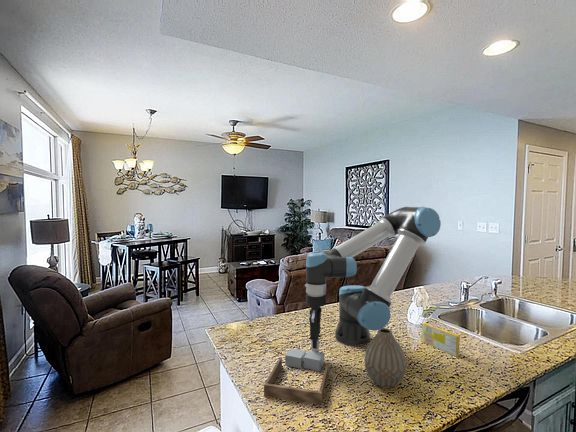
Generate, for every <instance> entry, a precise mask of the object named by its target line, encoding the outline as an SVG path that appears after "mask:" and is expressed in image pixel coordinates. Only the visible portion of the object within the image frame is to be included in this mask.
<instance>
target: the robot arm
mask: <svg viewBox="0 0 576 432" xmlns="http://www.w3.org/2000/svg"><path fill="white" fill-rule="evenodd" d="M441 225H442V224H441V220H440V216H439V213H438V212H437V211H436V210H435V209H434V208H431V207H426V206H420V207H419V206H404V207H400V208H398V209H396V210H393V211H391V212H390V213H388V214H386V215H384V216H382V217H381V218H379V220H378V222H377V223H375V224H373V225H372V226H369V227H368V228H366V229H365V230H363V231H361V232H359V233H358V234H356V235H354V236H352V237H351V238H349V239H347V240H345V241H344V242H342V243H341V244H339V245H337V246H335V247H333V248H331V249H329V250H328V251H326V250H325V251H323V250H322V251H320V252H309V253H308V254H307V255H306V258H305V260H306V262H305V273H306V274H305V279H306V281H305V284H304V287H305V293H306V294H305V305H307V306H309V307H311V308H310V309H309V317H308V319H309V333H310V334H309V335H310V336H309V340H310V342H311V346H310V347H311V349H310V350H311V351H316V352H320V338H322V335H321V319H322V307H324V306H325V305H326V302H327V300H326V299H327V295H326V294H327V279H329V278H331V279H332V278H350V277H354V276H355V275H356V273H357V269H358V265H357V262H356V259H355V258H354V257H356V256H358V255H359V254H361V253H363V252H364V251H366V250H369V248H371V247H373V246H375V245H377V244H378V243H380V242H381V241H383V240H385V239H387V238H388V237H389V238H393V237H395V236H396V235H398V237H397V239H396V240H395V242H394V244H393V245H392V247H391V249H390V251H389V252H388V254H387V256H386V258H385V259H384V260H383V263H382V264H381V267H380V268H379V270H378V272H377V273H376V275H375V277H374V278H373V280H372V282H371V284H370V285H368V286H363V285H355V284H354V285H343V286H341V287H340V288H339V293H338V296H339V298H338V300H339V301H338V303H339V306H338V307H339V309H338V310H339V311H338V312H339V313H338V315H339V316H338V318H339V319H338V322H337V325H336V329H335V332H334V333H335V335H334V336H335V339H336V341H338V342H339V343H342V344H343V345H347V346H363V345H368V344H369V343H370V341H371V333H370V331H378V329H380V328H386V326H387V325H388V324H389V323H390V319H391V316H392V315H391V310H390V306H391V305H392V299H391V297H392V295H393V293H394V291H395V289H396V288H397V286H398V284H399V282H400V281H401V279H402V277H403V275H404V273H405V271H406V270H407V268H408V266H409V264H410V263H411V261H412V259H413V257H414V256H415V254H416V251H417V250H418V248H419V246H423V245H426V242H427V240H428V239H429V238H432V237H435V236H436V235H437V234H438V233H439V231H440V230H441Z"/></svg>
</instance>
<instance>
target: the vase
mask: <svg viewBox="0 0 576 432" xmlns="http://www.w3.org/2000/svg"><path fill="white" fill-rule="evenodd" d="M363 362H364V368H365V371H366V373H367V375H368V377H369V378H370V380H371V381H372V382H373V383H374V384H375V385H376V386H378V387H381V388H385V389H392V388H394V387H396V386H397V385H399V384H400V383H401V382H402V381H403V379H404V378H405V375H406V370H407V359H406V356H405V352H404V350H403V348H402V346H401V345H400V343H399V341H398V340H397V339H396V337H394V334H393V331H392V329H390V328H388V327H387V328H386V327H384V328H380V329H378V330H377V333H376V334H375V336H374V337H373V338H372V339H370V341H369V343H367V347H366V349H365V353H364V361H363Z"/></svg>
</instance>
